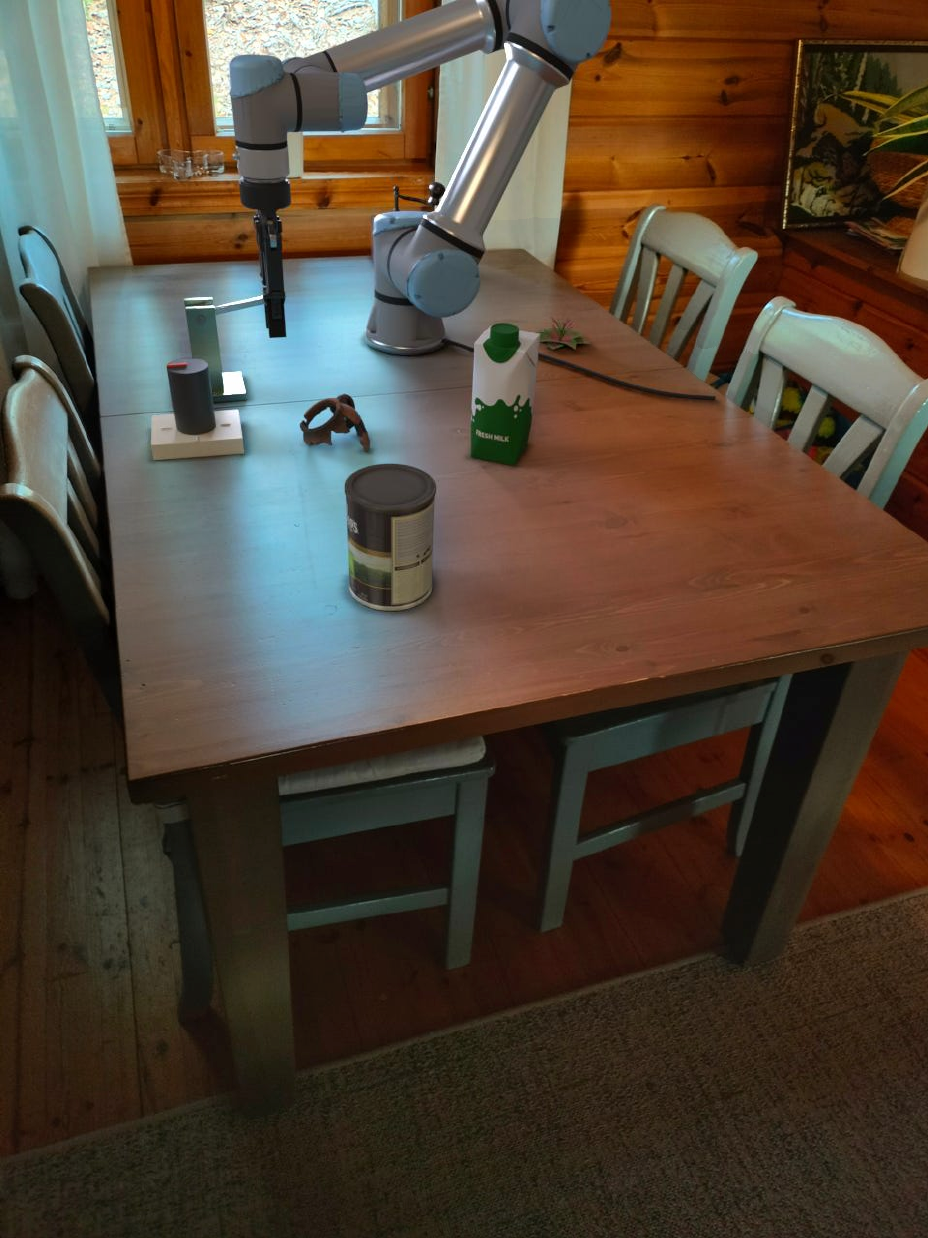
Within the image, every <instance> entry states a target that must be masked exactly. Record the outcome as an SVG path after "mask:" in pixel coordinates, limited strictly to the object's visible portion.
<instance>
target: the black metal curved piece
mask: <svg viewBox="0 0 928 1238" xmlns="http://www.w3.org/2000/svg"><path fill="white" fill-rule="evenodd" d="M393 191H394V192H393V193H392V195H393V197H394V208H393V210H390V211H389V212H397V211H401V210H400V207H399V198H400V199H401V200H404V201H409V202H414V203H418V204H421V205H426V206H431V207H432V208H433V207H439V205H440V202H441V201H440V200H441V199H442V198H443V196H444V194H445V192H446V187H445V185H444V184H443V183H442V182H439V181H433V182H430V184H429V185H428V192H429V198H428V200H426V199H422V198H418V197H413V196H409V195H402V194H401V193H400V192H399V191H400V186H399V185H395V186H393ZM378 215H379V214H376V215H375V214H374V215H370V257H371V259H372V261H373V262H374V246H373V236H372V234H373V230H374V220H375V218H376V217H377V216H378Z"/></svg>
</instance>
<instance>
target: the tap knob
mask: <svg viewBox="0 0 928 1238" xmlns="http://www.w3.org/2000/svg"><path fill="white" fill-rule="evenodd" d="M166 373H167V377H168V379H167V380H168V385H169V391H170V392H169V393H170V398H171V404H172V410H173V414H174V417H175V423H176V429H177V430H178V431H179V432H181V433H184V434H188V435H199V434H204V433H208V432H210V431H212V430H213V429H214V428H215V427H216V420H215V412H214V411H215V405H214V402H213V397H212V390H211V382H210V375H209V367H208V363H207V362H206V361H204V360H202V359H198V358H192V357H181V358H178V359H174V360H171V361H169V362H168V363H166Z"/></svg>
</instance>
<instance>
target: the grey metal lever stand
mask: <svg viewBox="0 0 928 1238" xmlns="http://www.w3.org/2000/svg"><path fill="white" fill-rule="evenodd" d="M203 303H207V306H196V307H190V306H194V305H199V304H203ZM183 304H184V309H185V310H184V311H185V317H186V323H187V332H188V336H189V337H188V338H189V345H190V352H191V358H198V359H202V360H204V361H206V362H207V363H208V367H209V375H210V382H211V390H212V397H213V403H223V402H224V403H225V402H235V401H236V402H237V401H247V399H248V398H247V397H248V396H247V391H246V387H245V383H244V379H243V375H242V372H241V371H233V372H223V366H222V357H221V349H220V342H219V335H218V334H219V333H218V325H217V315H215V308H214V307H215V305H214V300H213V297H212V296H207V297H205V296H204V297H187V298H186V297H185V298H183Z"/></svg>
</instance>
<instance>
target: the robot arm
mask: <svg viewBox="0 0 928 1238" xmlns="http://www.w3.org/2000/svg"><path fill="white" fill-rule="evenodd" d="M611 21H612V8H611V3H610V0H453V1H450V2H448V3H445V4H442V5H440V6H437V7H435V8H432V9H429V10H426V11H424V12H421V13H418V14H416V15H413V16H410V17H408V18H406V19H403V20H400V21H397V22H395V23H392V24H389V25H386V26H384V27H382V28H379V29H376V30H374V31H370V32H368V33H366V34H364V35H361V36H358V37H355V38H353V39H350V40H348V41H344V42H342V43H339V44H337V45H334V46H332V47H329V48H326V49H325V50H322V51H318V52H316V53H313V54H311V55H308V56H305V57H302V56H293V57H288V58H285V59H283V60H281V58H280V57H277V56H274V55H268V54H267V55H266V54H255V53H254V54H239V55H235V56H233V57H232V58H231V60H230V61H229V63H228V67H229V68H228V73H229V74H228V75H229V96H230V103H231V112H232V122H233V123H232V124H233V133H234V144H235V150H236V152H233V153H232V154H231V158H232V159H233V160H234V161H237V162H236V163H237V164H236V165H237V174H239V176H241V177H240V178H239V179H238V188H239V190H238V191H239V197H240V198H239V199H240V200H239V201H240V204H241V205H242V206H243V207H244V208H246V209H249V210H253V211H255V210H256V212H255V213H254V215H253V216H252V221H253V227H254V230H255V239H256V244H257V249H258V258H259V271H260V272H259V276H260V278H261V284H262V286H263V287H262V294H261V296H262V297H263V299H266V304H263V307H264V308H263V309H264V318H265V319H264V320H265V328H266V329H268V338H269V339H276V338H278V339H280V338H287V325H286V310H285V304H284V297H285V295H286V291H285V280H284V279H285V278H284V264H283V263H284V262H283V235H282V233H283V221H282V220H281V218H280V216H279V215H277V212H278V211H279V210H285V209H287V208H289V207H290V206H291V204H292V195H291V193H292V192H291V181H290V180H289V178H287V177H289V175H290V172H291V170H290V156H289V153H290V152H289V145H288V144H289V143H288V133H300V132H301V133H305V132H306V133H309V132H311V133H313V132H316V133H319V132H340V133H345V132H350V131H359V130H362V129H363V128H364V126H365V125H366V122H367V120H368V113H369V99H368V93H371V92H374V91H376V90H379V89H382V88H384V87H387V86H389V85H392V84H394V83H395V84H396V83H398V82H400V81H402V80H406V79H408V78H410V77H413V76H416V75H418V74H420V73H423V72H426V71H429V70H432V69H434V68H436V67H439V66H441V65H444V64H447V63H449V62H452V61H454V60H456V59H460V58H463V57H465V56H468V55H470V54H472V53H475V52H478V51H481V52H482V53H483V54H485V55H490V54H493V53H495V52H498V51H502V50H504V51H505V55H506V61H505V64H504V67H503V69H502V71H501V73H500V75H499V77H498V79H497V80H496V84H495V86H494V88H493V90H492V92H491V94H490V96H489V98H488V101H487V103H486V105H485V107H484V109H483V111H482V112H481V115H480V117H479V120H478V121H477V124H476V126H475V127H474V130H473V133H472V135H471V137H470V138H469V141H468V143H467V144H466V147H465V149H464V152H463V153H462V155H461V158H460V160H459V162H458V164H457V167H455V168H456V169H455V171H454V172H453V175H452V176H451V180H450V181H449V183H448V186H447V188H446V189H445V194H444V195H443V196H442V197H441V199H440V200H441V201H439V203H440V205H439V206H437V208H436V209H435V210H434V211H431V212H430V211H421V210H400V211H397V212H390V211H388V212H383V213H380V214H377V215H378V216H377V217H376V218H375V220H374V230H373V234H372V236H373V246H374V261H373V285H374V287H373V290H374V293H373V295H374V298H373V304H372V306H371V310H370V312H369V316H368V320H367V323H366V327H365V330H364V331H365V332H364V333H365V343H366V344H367V345H368V346H369V347H370V348H372V349H374V350H376V351H379V352H382V353H385V354H391V355H397V356H398V355H399V356H417V355H424V354H430V353H433V352H437V351H438V350H440V349H441V348H442V347H444V345H445V344H446V345H451V346H453V347H457V348H460V349H463V350H466V351H468V352H470V353H474V347H471V346H468V345H466V344H463V343H461V342H457V341H454V340H451V339H448V338H446V333H447V332H446V329H445V325H444V321H443V319H444V318H445V319H446V318H450V317H453V316H456V315H458V314H460V313H463V312H464V311H465V310H466V309H467V308H468V307H470V306H471V304H472V303H473V302H474V301H475V299H476V297H477V296H478V292H479V289H480V286H481V276H480V269H479V264H480V263H481V260H482V258H483V256H484V255H485V252H486V245H485V241H484V234H485V232H486V230H487V228H488V226H489V224H490V222H491V220H492V218H493V216H494V214H495V211H496V210H497V208H498V205H499V204H500V201H501V199H502V198H503V196H504V194H505V191H506V189H507V187H508V185H509V183H510V181H511V179H512V177H513V175H514V173H515V171H516V170H517V167H518V165H519V164H520V161H521V159H522V157H523V155H524V154H525V151H526V149H527V147H528V145H529V143H530V141H531V139H532V137H533V136H534V133H535V131H536V129H537V127H538V125H539V123H540V121H541V119H542V117H543V115H544V113H545V110H546V109H547V107H548V106H549V103H550V100H551V98H552V97H553V95H554V93H555V92H556V90H559V89H561V88H563V87H566V86H568V85H570V83H571V80H572V79H573V77H574V75H575V73H576V71H577V69H578V67H579V65H580V64H581V63H585V62H587V61H589V60H590V59H592V58H594V57H595V56H596V55H597V54H598V53H599V52H600V50H601V49H602V48H603V46H604V44H605V42H606V40H607V38H608V36H609V32H610V28H611ZM266 289H267V293H266V294H263V293H264V291H265V290H266ZM538 358H540V359H544V360H547V361H550V362H553V363H556V364H560V365H563V366H565V367H569V368H571V369H574V370H576V371H579V372H582V373H584V374H587V375H589V376H593V377H595V378H598V379H601V380H604V381H607V382H610V383H613V384H616V385H618V386H622V387H625V388H629V389H633V390H637V391H640V392H645V393H649V394H654V395H659V396H664V397H670V398H678V399H685V400H686V399H687V400H698V401H699V400H700V401H713V402H714V401H715V402H716V400H717V399H716V398H717V396H716V395H705V394H704V395H703V394H691V393H681V392H672V391H666V390H660V389H654V388H650V387H646V386H641V385H638V384H634V383H630V382H627V381H623V380H619V379H616V378H615V377H611V376H608V375H605V374H603V373H600V372H597V371H594V370H591V369H589V368H585V367H583V366H580V365H577V364H575V363H572V362H569V361H567V360H563V359H560V358H557V357H555V356H550V355H548V354H544V353H541V352H538Z"/></svg>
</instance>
